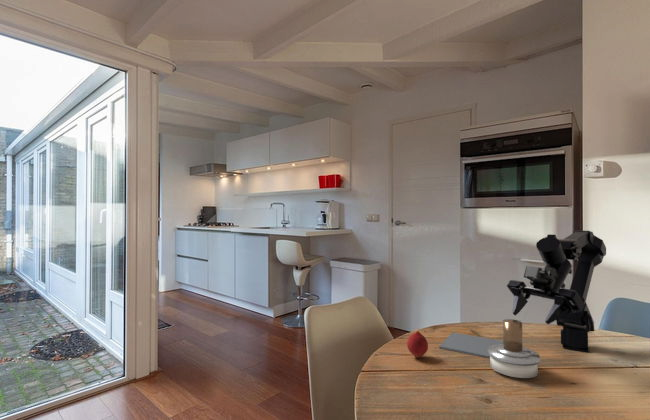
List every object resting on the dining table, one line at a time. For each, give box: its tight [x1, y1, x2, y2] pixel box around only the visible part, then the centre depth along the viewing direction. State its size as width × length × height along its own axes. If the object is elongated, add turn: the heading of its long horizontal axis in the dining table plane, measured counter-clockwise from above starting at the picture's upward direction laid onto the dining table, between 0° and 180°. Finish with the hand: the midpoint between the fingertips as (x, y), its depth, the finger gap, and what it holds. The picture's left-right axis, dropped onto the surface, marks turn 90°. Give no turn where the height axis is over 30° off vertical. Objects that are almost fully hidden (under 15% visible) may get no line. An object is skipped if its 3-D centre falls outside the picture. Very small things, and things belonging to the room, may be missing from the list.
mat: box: [438, 332, 504, 359], centre depth 110 cm, size 16×16×1 cm
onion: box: [406, 329, 429, 359], centre depth 101 cm, size 6×6×8 cm
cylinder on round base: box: [488, 318, 541, 366], centre depth 92 cm, size 12×12×9 cm
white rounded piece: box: [489, 356, 539, 379], centre depth 91 cm, size 11×11×4 cm
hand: (529, 318), depth 95 cm, fingers open, 9 cm apart
